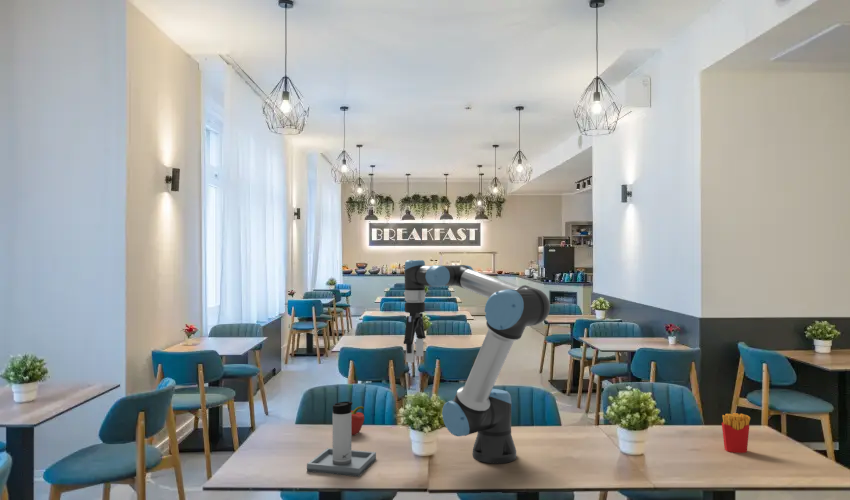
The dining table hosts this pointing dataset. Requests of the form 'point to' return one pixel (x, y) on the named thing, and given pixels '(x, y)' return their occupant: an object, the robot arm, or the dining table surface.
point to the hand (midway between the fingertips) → (414, 359)
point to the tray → (355, 468)
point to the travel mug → (342, 433)
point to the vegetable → (356, 421)
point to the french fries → (735, 432)
